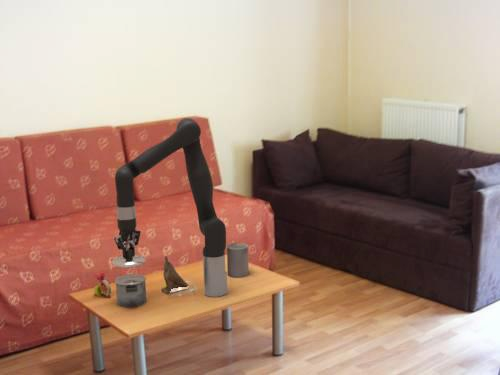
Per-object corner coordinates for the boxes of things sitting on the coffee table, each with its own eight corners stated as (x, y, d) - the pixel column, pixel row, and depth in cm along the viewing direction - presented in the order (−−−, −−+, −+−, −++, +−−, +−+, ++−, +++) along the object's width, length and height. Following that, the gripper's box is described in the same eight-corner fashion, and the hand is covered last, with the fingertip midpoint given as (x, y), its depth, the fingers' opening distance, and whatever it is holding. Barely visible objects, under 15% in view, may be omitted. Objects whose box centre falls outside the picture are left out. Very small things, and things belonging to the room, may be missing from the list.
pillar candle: (225, 272, 327) (224, 241, 323) (245, 269, 330) (244, 238, 326) (231, 279, 318) (229, 247, 314) (251, 276, 321) (250, 244, 317)
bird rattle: (114, 299, 304) (101, 287, 308) (119, 278, 298) (106, 266, 303) (102, 303, 299) (89, 291, 304) (107, 282, 294) (94, 270, 299)
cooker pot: (116, 295, 301) (114, 273, 299) (145, 292, 304) (144, 270, 302) (117, 311, 284) (115, 287, 282) (148, 308, 287) (147, 284, 284)
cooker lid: (144, 256, 297) (143, 243, 296) (146, 265, 285) (145, 252, 284) (112, 259, 295) (111, 246, 294) (113, 268, 282) (112, 255, 281)
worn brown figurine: (167, 300, 302) (156, 262, 296) (161, 296, 306) (151, 259, 300) (191, 288, 307) (181, 251, 301) (185, 285, 312) (175, 248, 306)
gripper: (131, 211, 294) (133, 251, 297) (107, 219, 282) (110, 261, 286) (145, 213, 290) (147, 254, 293) (121, 221, 278) (124, 263, 282)
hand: (129, 257), depth 289 cm, fingers closed on cooker lid, 3 cm apart
